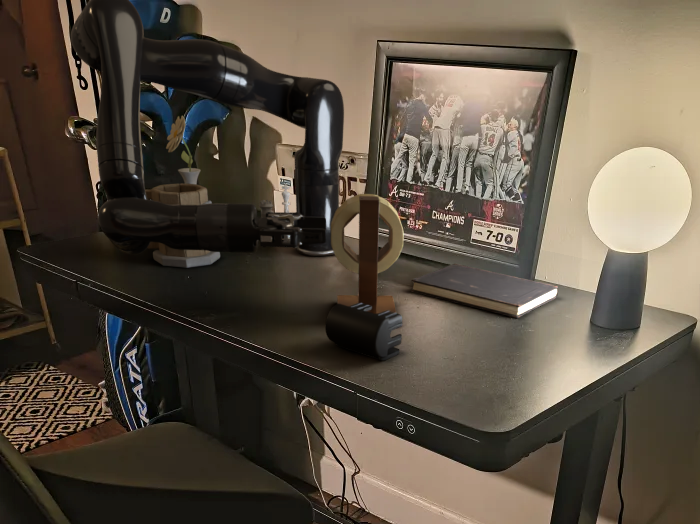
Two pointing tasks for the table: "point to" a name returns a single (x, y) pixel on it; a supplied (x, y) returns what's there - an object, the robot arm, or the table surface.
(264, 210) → the rook chess piece
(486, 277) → the hardcover book
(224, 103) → the robot arm
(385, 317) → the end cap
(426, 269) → the table surface
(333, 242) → the masking tape
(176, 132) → the flower in vase
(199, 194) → the tankard
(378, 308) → the stand
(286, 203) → the chess piece
